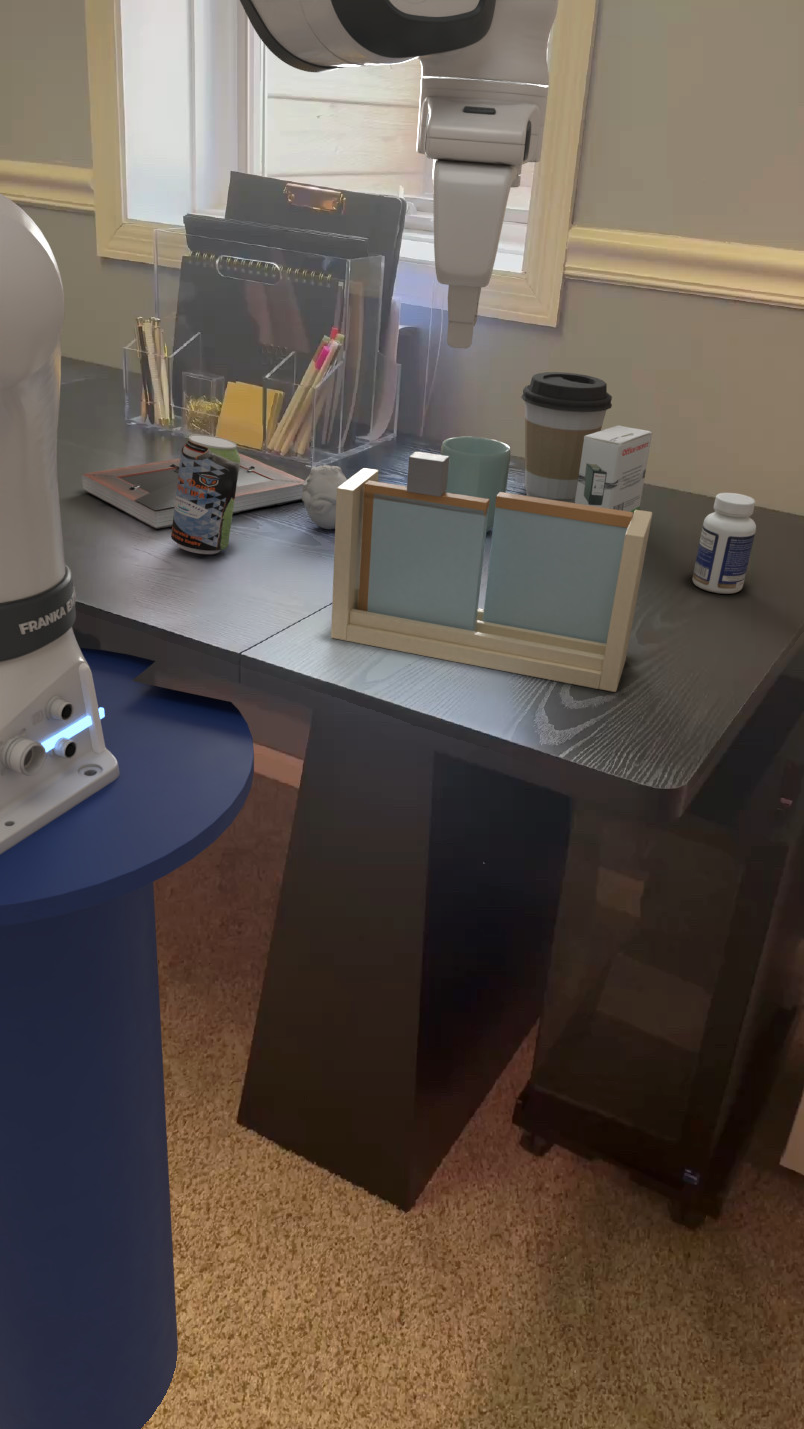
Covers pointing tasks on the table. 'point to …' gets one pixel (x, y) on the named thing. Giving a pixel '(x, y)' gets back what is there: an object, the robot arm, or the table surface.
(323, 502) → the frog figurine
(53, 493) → the robot arm
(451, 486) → the cup
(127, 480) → the picture frame
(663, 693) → the table surface
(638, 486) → the ink box
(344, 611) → the window frame
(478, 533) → the window pane
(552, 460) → the coffee cup
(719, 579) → the pill bottle
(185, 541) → the beverage can
